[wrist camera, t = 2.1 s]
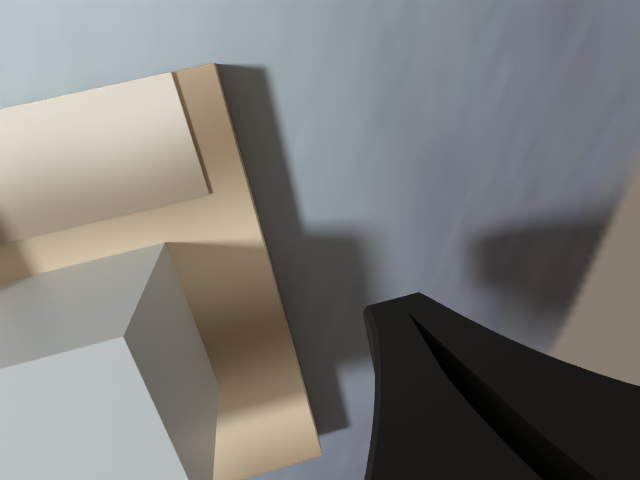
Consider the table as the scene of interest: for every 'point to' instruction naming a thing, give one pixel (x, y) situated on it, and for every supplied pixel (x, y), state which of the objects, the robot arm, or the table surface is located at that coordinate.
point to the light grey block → (104, 374)
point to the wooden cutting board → (164, 236)
